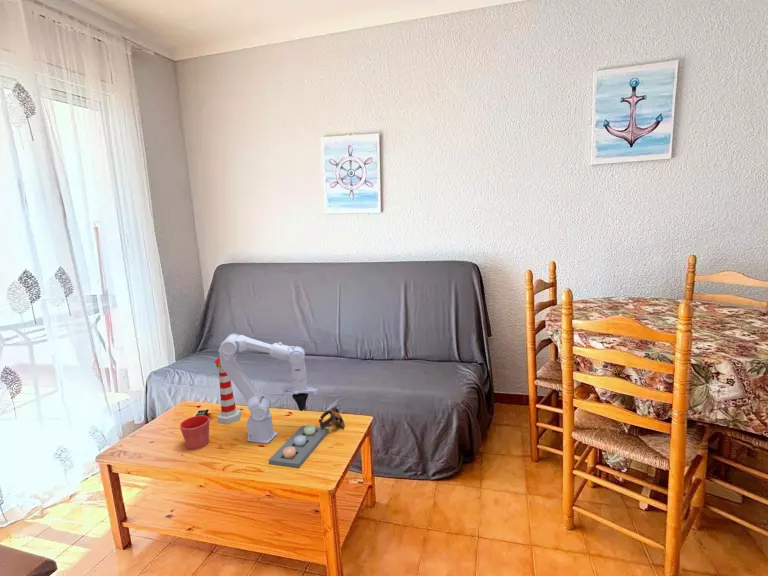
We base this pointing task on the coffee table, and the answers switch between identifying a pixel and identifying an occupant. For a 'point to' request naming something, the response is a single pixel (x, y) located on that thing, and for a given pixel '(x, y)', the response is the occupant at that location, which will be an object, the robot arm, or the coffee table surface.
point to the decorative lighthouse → (226, 398)
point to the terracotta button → (289, 452)
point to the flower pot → (195, 431)
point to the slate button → (300, 441)
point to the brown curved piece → (331, 418)
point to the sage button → (310, 430)
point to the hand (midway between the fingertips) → (302, 409)
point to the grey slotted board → (299, 448)
